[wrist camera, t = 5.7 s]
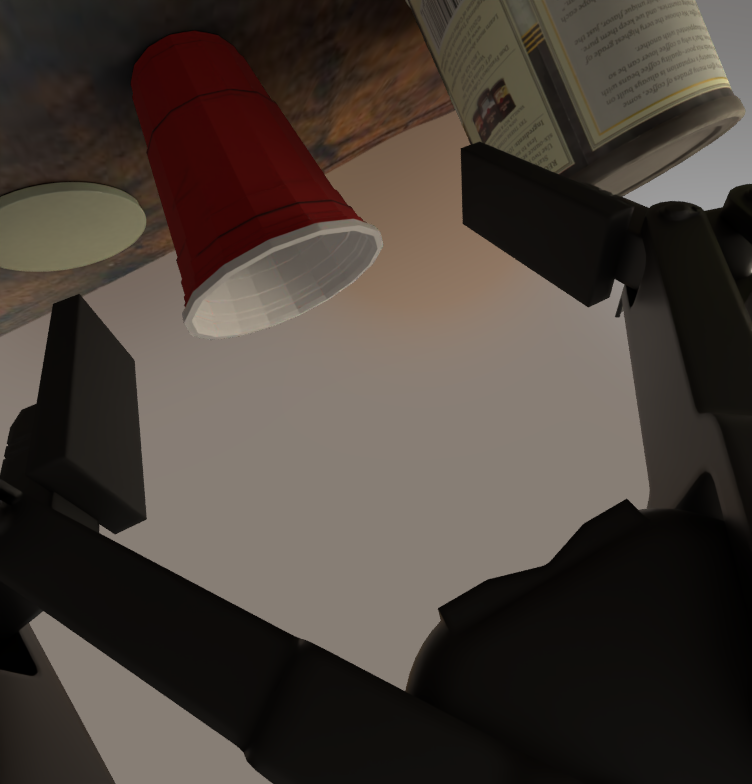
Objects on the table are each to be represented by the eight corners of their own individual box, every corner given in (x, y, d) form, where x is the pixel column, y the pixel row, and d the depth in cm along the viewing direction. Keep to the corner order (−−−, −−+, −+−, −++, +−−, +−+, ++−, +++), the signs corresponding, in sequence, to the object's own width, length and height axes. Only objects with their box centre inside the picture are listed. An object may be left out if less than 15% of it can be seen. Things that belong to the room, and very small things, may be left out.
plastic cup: (318, -27, 19) (429, 222, 20) (265, 138, 29) (341, 302, 29) (36, -50, 14) (197, 287, 15) (85, 160, 23) (182, 358, 24)
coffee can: (567, -51, 24) (661, 180, 25) (402, 45, 26) (496, 259, 27) (668, -332, 14) (821, 69, 15) (388, -146, 16) (539, 208, 17)
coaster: (32, 277, 32) (36, 285, 32) (-84, 223, 22) (-79, 233, 23) (161, 230, 34) (164, 237, 34) (105, 160, 24) (110, 170, 24)
